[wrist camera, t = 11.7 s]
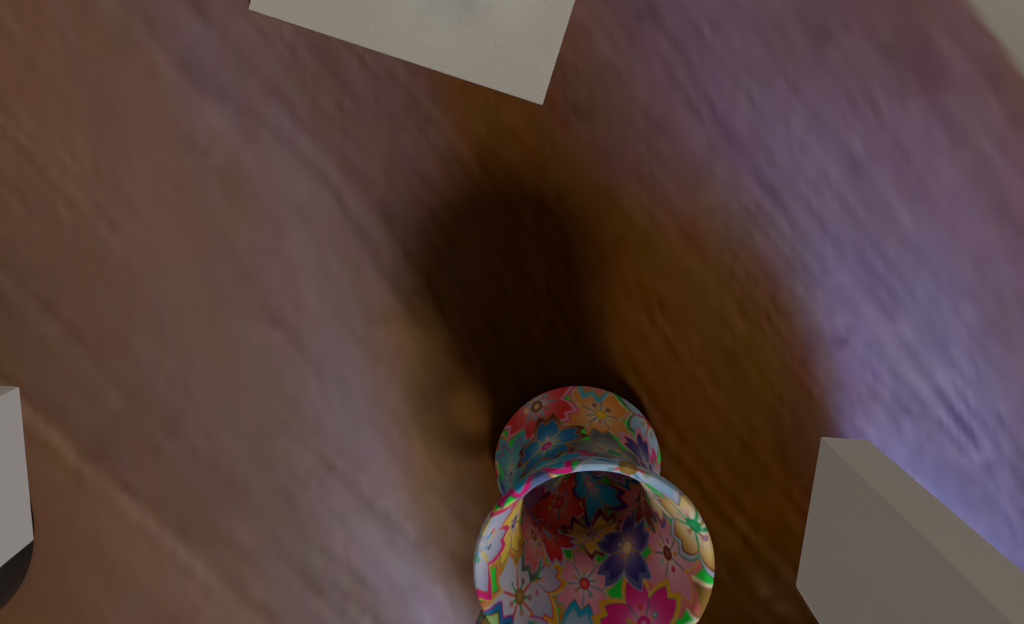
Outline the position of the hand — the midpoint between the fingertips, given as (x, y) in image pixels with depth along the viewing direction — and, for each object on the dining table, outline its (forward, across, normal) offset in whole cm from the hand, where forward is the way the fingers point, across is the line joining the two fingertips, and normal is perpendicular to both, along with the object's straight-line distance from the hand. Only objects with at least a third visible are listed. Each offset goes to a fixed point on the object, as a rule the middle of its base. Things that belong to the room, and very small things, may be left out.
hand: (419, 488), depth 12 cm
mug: (+25, +5, -11) cm, 28 cm away
